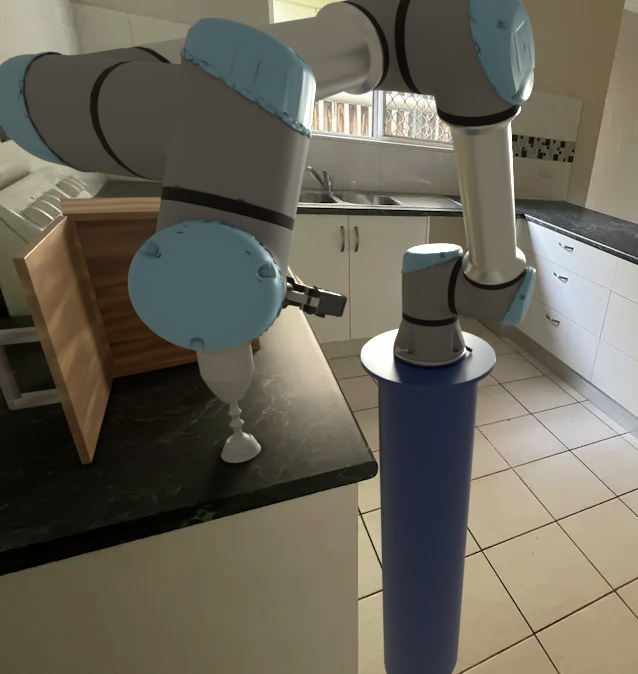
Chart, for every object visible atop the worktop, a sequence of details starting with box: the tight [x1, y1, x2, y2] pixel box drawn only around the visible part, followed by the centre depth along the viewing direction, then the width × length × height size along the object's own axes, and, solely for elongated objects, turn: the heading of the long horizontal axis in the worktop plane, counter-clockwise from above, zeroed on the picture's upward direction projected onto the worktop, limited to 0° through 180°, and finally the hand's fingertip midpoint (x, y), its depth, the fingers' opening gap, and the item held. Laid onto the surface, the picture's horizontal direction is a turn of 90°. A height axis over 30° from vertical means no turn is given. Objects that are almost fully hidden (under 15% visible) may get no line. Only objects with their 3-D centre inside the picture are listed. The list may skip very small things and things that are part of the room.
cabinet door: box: [0, 215, 114, 466], centre depth 65 cm, size 6×24×28 cm, turn 31°
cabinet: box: [59, 196, 261, 379], centre depth 89 cm, size 14×24×28 cm, turn 131°
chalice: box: [196, 341, 262, 464], centre depth 65 cm, size 7×7×18 cm
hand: (257, 280), depth 59 cm, fingers open, 13 cm apart
